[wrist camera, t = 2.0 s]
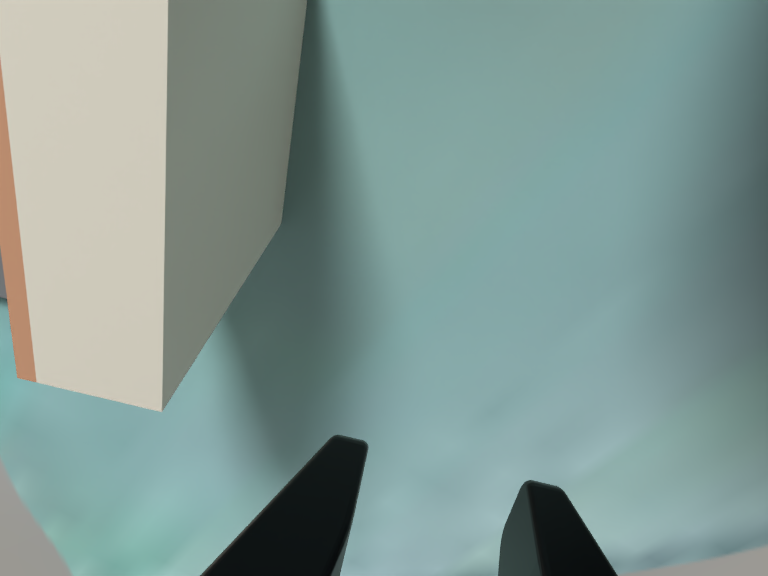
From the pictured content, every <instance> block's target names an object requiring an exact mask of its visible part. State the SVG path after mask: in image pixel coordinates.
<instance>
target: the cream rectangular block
mask: <svg viewBox="0 0 768 576" xmlns="http://www.w3.org/2000/svg"><path fill="white" fill-rule="evenodd" d="M306 7H307V0H0V248H1V256H2V264H3V271H4V279H5V287H6V294H7V302H8V310H9V317H10V325H11V332H12V340H13V348H14V355H15V363H16V371H17V378H20V379H25V380H29V381H33V382H37V383H41V384H46V385H50V386H54V387H58V388H63V389H67V390H71V391H75V392H79V393H84V394H88V395H92V396H96V397H101V398H105V399H109V400H113V401H117V402H122V403H126V404H130V405H134V406H139V407H143V408H147V409H151V410H156V411H160V412H162V411H163V410H164V408H165V407H166V405H167V403H168V402H169V400H170V399H171V397H172V395H173V394H174V392H175V391H176V389H177V388H178V386H179V384H180V383H181V381H182V380H183V378H184V377H185V375H186V373H187V372H188V370H189V369H190V367H191V366H192V364H193V362H194V361H195V359H196V358H197V356H198V354H199V353H200V351H201V350H202V348H203V347H204V345H205V343H206V342H207V340H208V339H209V337H210V336H211V334H212V332H213V331H214V329H215V328H216V326H217V324H218V323H219V321H220V320H221V318H222V317H223V315H224V313H225V312H226V310H227V309H228V307H229V306H230V304H231V302H232V301H233V299H234V298H235V296H236V295H237V293H238V291H239V290H240V288H241V287H242V285H243V283H244V282H245V280H246V279H247V277H248V276H249V274H250V272H251V271H252V269H253V268H254V266H255V265H256V263H257V261H258V260H259V258H260V257H261V255H262V253H263V252H264V250H265V249H266V247H267V246H268V244H269V242H270V241H271V239H272V238H273V236H274V235H275V233H276V231H277V230H278V228H279V227H280V225H281V222H282V213H283V205H284V196H285V187H286V179H287V170H288V162H289V153H290V144H291V136H292V127H293V119H294V110H295V101H296V93H297V84H298V76H299V67H300V58H301V50H302V41H303V33H304V24H305V15H306Z"/></svg>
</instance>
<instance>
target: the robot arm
mask: <svg viewBox="0 0 768 576" xmlns="http://www.w3.org/2000/svg"><path fill="white" fill-rule="evenodd" d="M367 452H368V444H367V443H366V442H365V441H363V440H359V439H355V438H350V437H346V436H342V435H335V436H333V437H332V438H330V439H329V440H328V441H327V442H326V443H325V444H324V446H323V447H322V448H321V449H320V450H319V451H318V452H317V453H316V454H315V455H314V456H313V457H312V458H311V459H310V460H309V461H308V462H307V463H306V465H305V466H304V467H303V468H302V469H301V470H300V471H299V472H298V473H297V474H296V475H295V476H294V477H293V478H292V479H291V480H290V481H289V482H288V484H287V485H286V486H285V487H284V488H283V489H282V490H281V491H280V492H279V493H278V494H277V495H276V496H275V497H274V498H273V499H272V500H271V501H270V503H269V504H268V505H267V506H266V507H265V508H264V509H263V510H262V511H261V512H260V513H259V514H258V515H257V516H256V517H255V518H254V519H253V520H252V522H251V523H250V524H249V525H248V526H247V527H246V528H245V529H244V530H243V531H242V532H241V533H240V534H239V535H238V536H237V537H236V538H235V539H234V540H233V542H232V543H231V544H230V545H229V546H228V547H227V548H226V549H225V550H224V551H223V552H222V553H221V554H220V555H219V556H218V557H217V558H216V559H215V561H214V562H213V563H212V564H211V565H210V566H209V567H208V568H207V569H206V570H205V571H204V572H203V573H202V574H201V575H200V576H340V572H341V568H342V563H343V559H344V555H345V551H346V547H347V543H348V538H349V534H350V530H351V526H352V522H353V517H354V513H355V508H356V504H357V499H358V494H359V490H360V485H361V480H362V476H363V471H364V466H365V462H366V457H367ZM498 576H618V575H617V574H616V572H615V571H614V569H613V568H612V566H611V564H610V563H609V561H608V560H607V558H606V556H605V555H604V553H603V552H602V550H601V549H600V547H599V545H598V544H597V542H596V541H595V539H594V538H593V536H592V534H591V533H590V531H589V530H588V528H587V527H586V525H585V523H584V522H583V520H582V519H581V517H580V515H579V514H578V512H577V511H576V509H575V508H574V506H573V504H572V503H571V501H570V500H569V498H568V497H567V495H566V494H565V492H564V491H563V490H562V489H561V488H559V487H557V486H554V485H550V484H545V483H541V482H537V481H533V480H529V481H526V482H525V483H524V484H523V485H522V486H521V488H520V490H519V493H518V495H517V498H516V500H515V502H514V505H513V507H512V509H511V512H510V514H509V517H508V519H507V521H506V524H505V526H504V530H503V534H502V539H501V546H500V558H499V571H498Z"/></svg>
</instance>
